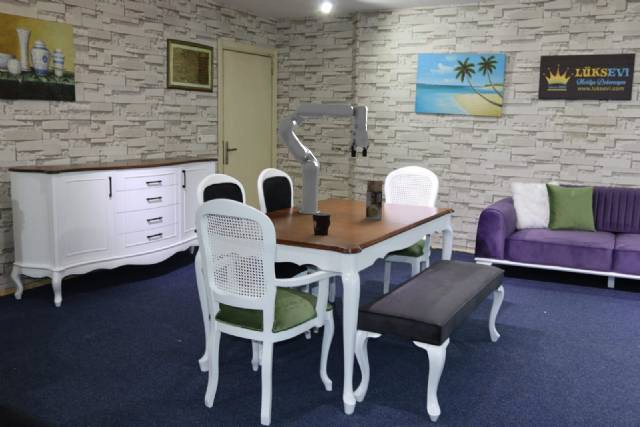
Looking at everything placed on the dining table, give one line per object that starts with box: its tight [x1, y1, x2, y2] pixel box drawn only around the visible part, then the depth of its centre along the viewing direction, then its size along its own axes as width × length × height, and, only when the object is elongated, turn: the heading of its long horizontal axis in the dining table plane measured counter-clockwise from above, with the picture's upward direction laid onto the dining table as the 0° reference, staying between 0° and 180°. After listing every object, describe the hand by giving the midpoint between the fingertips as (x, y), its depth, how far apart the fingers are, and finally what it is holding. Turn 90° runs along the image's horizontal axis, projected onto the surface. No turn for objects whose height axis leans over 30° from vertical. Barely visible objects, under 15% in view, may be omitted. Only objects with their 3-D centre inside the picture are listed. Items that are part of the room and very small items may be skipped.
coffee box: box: [365, 190, 383, 221], centre depth 339 cm, size 9×6×16 cm
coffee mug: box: [312, 212, 331, 237], centre depth 284 cm, size 12×9×10 cm
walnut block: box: [366, 179, 383, 192], centre depth 337 cm, size 6×6×6 cm
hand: (359, 156), depth 349 cm, fingers open, 9 cm apart
